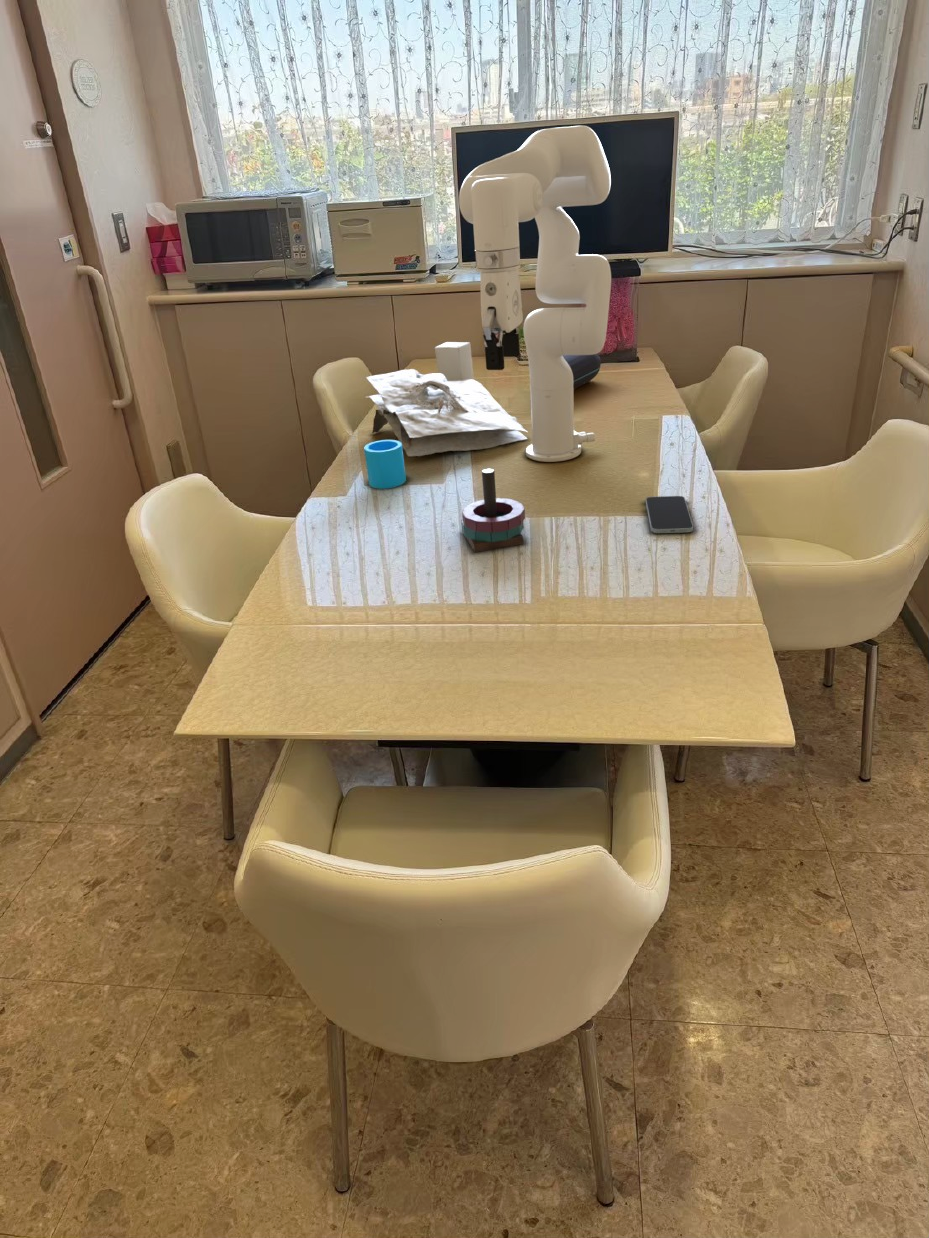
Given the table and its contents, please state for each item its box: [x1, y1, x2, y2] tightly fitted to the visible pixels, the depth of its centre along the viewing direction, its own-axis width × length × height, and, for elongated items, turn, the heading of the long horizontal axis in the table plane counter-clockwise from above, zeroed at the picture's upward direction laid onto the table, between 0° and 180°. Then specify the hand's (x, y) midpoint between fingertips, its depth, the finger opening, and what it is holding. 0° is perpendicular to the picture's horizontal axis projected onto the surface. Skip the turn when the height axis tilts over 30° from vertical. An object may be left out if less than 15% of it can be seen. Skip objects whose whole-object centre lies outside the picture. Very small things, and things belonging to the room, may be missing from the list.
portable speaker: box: [563, 353, 602, 390], centre depth 234 cm, size 25×10×10 cm, turn 144°
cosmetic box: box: [434, 341, 475, 381], centre depth 232 cm, size 8×7×16 cm
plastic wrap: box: [365, 368, 528, 457], centre depth 206 cm, size 35×16×32 cm
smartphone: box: [645, 495, 694, 534], centre depth 153 cm, size 7×1×15 cm
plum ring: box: [461, 497, 526, 533], centre depth 149 cm, size 11×11×2 cm
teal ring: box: [460, 512, 525, 542], centre depth 151 cm, size 11×11×2 cm
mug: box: [363, 439, 407, 489], centre depth 181 cm, size 12×8×8 cm
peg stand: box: [465, 468, 524, 553], centre depth 148 cm, size 9×9×13 cm
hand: (503, 362), depth 149 cm, fingers open, 9 cm apart
